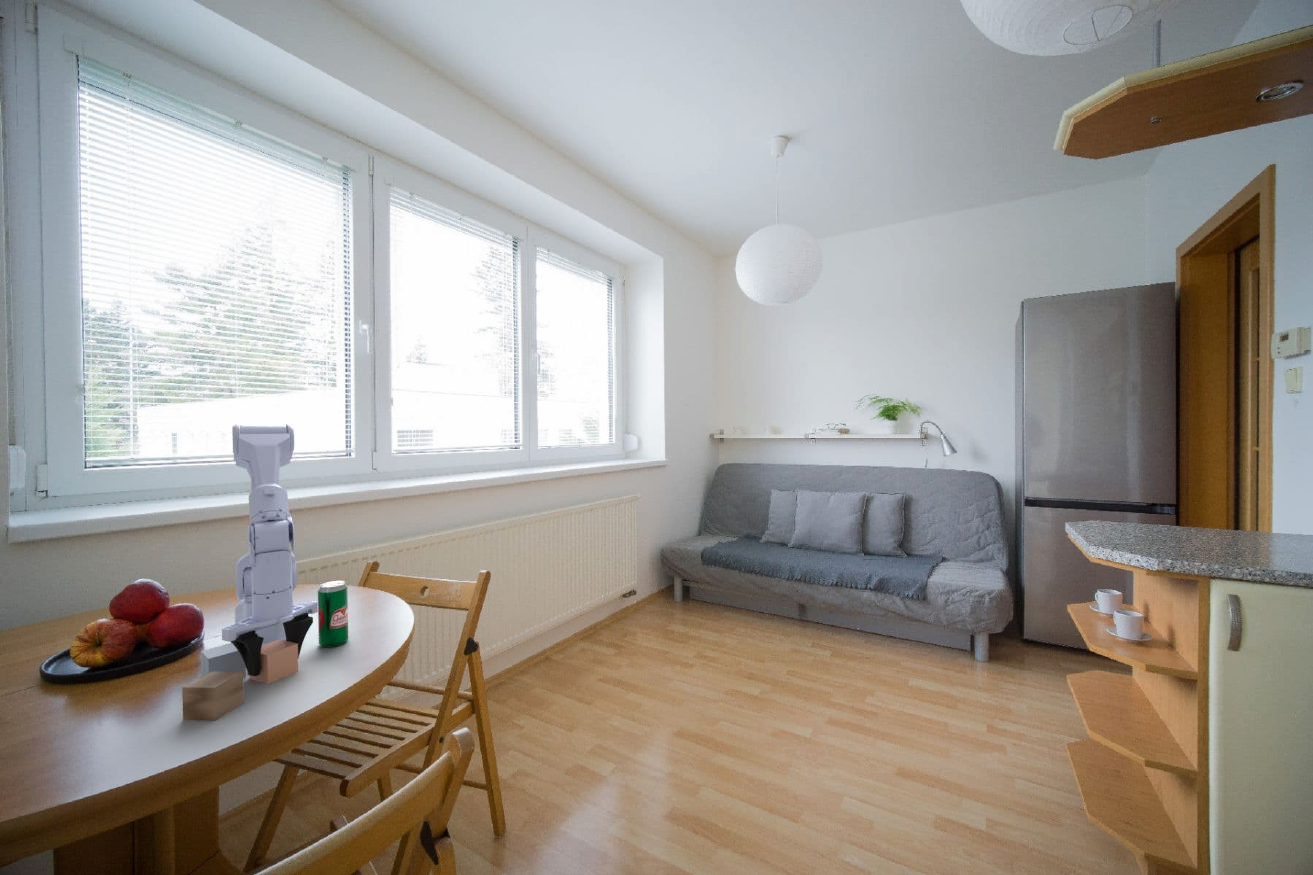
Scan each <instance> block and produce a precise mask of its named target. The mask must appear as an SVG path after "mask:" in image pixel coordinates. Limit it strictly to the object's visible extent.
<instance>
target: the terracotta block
mask: <svg viewBox="0 0 1313 875" xmlns="http://www.w3.org/2000/svg"><path fill="white" fill-rule="evenodd" d="M260 666H261V670H260V675H258V676H251V675H249V679H250V680H253V681H257V682H260V683H265V684H268V685H269V684H271V683H273V682H276V681H278V680H281V679H283V678H286V677H287V676H290V675H292V674H294V673H296V672H298V671H299V659H298V644H297V643H293V642H289V641H286V640H285V641H284V640H280V639H279V640H276V641H274V642H271V643H268V644H265V645H263V646H262V647H261V654H260Z"/></svg>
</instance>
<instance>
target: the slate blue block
mask: <svg viewBox="0 0 1313 875" xmlns="http://www.w3.org/2000/svg"><path fill="white" fill-rule="evenodd" d="M200 669H201V670H200V671H201V672H200V674H201V677H203V676H205V675H207V674H209V673H211V672H213V671H214V672H243V678H246V677H247V669H246V666H245V663H244V661H243V658H242V656H241V655H240V653H239V651H238V650H237V648H236V647H235V646H234V645H233V643H226V644H221V645H218V646H214V647H211V648H208V649H207V648H206V649H204V650H201V651H200ZM201 677H200V678H201Z"/></svg>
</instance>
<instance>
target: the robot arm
mask: <svg viewBox="0 0 1313 875" xmlns="http://www.w3.org/2000/svg"><path fill="white" fill-rule="evenodd" d="M294 429H295V428H294V426H293V425H291V423H286V424H239V423H235V424H234V425H233V426H232V429H231V430H232V432H231V434H232V453H233V461H234V462H235V466H236V467H239V468H243V469H245V470H246V472H248V476H249V478H250V489H251V490H250V493H249V495H248V509H249V510H248V511H249V512H248V516H249V525H248V527H247V529H246V530H247V531H246V538H247V552H246V553H245V554H243V555H242V556H241V557H240V558H239V559H238V561H237V562H236V566H235V568H236V569H235V592H236V593H235V596H236V599H238V600H239V602H238V603H237V605H236V606H235V609H234V623H233V624H231V625H228V626H226V627H223V628H221V640H222V641H224V642H230V643H233V645H234V646H235V647H236V648H237V650H238V651H239V653H240V655H241V656H242V658H243V661H244V663H245V666H246V673H247V675H248V676H250V675H251V676H258V675H260V670H261V666H260V654H261V647H262V646H263V645H265V644H268V643H271V642H274V641H276V640H279V639H280V640H284V641H289V642H293V643H297V644H298V660H299V658H300V655H301V650H302V646H303V643H304V641H305V638H306V635H307V634H308V632H309V630H310V628H311V626H312V625H313V623H314V617H313V616H310V614H311V615H312V614H313V615H314V614H316V613H317V614H318V601H313V600H309V601H306V602H301V603H297V604H294V603H293V602H294V600H293V595H294V594H293V591H294V590H295V589H297V585H298V574H297V573H298V572H297V563H296V556H295V555H294V552H293V551H294V550H295V549H294V548H295V546H296V545H295V544H296V531H295V530H296V529H295V524H294V522H293V518H292V514H291V513H290V507H289V497H288V491H287V489H285V488H284V487H282V486H280V484H279V483H280V468H282V467H284V466H287V465H290V464H291V460H292V459H293V453H294V449H295V433H294V432H295V431H294ZM290 547H291V548H290ZM290 549H291V550H290Z"/></svg>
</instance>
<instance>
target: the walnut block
mask: <svg viewBox="0 0 1313 875" xmlns="http://www.w3.org/2000/svg"><path fill="white" fill-rule="evenodd" d="M244 687H245V686H244V677H243V672H214V671H213V672H211V673H209V674H207V675H205V676H203V677H200V678H199V677H198V678H197V679H196V680H194V681H192V682H190V683H188V684H186V685H184V686H182V687H181V690H182V691H181V692H182V694H181V696H182V698H181V699H182V720H183V721H200V722H201V721H202V722H203V721H205V722H207V721H209V722H210V721H211V722H216V721H217V720H219V719H221V718H222V717H224V716H226V715H227V714H229V713H230V712H231V711H233V710H235V709H237V708H238V707H240V706H242V705H243V704H244V703H245V695H244V693H245V692H244Z"/></svg>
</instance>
